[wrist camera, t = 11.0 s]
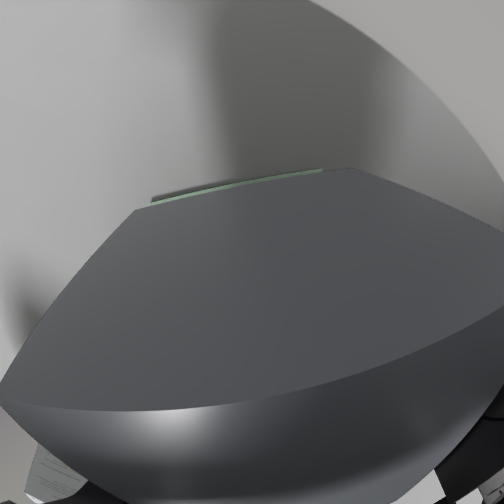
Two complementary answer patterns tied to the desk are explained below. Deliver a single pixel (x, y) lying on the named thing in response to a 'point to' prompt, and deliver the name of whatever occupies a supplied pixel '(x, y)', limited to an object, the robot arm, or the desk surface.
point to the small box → (51, 478)
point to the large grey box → (270, 346)
